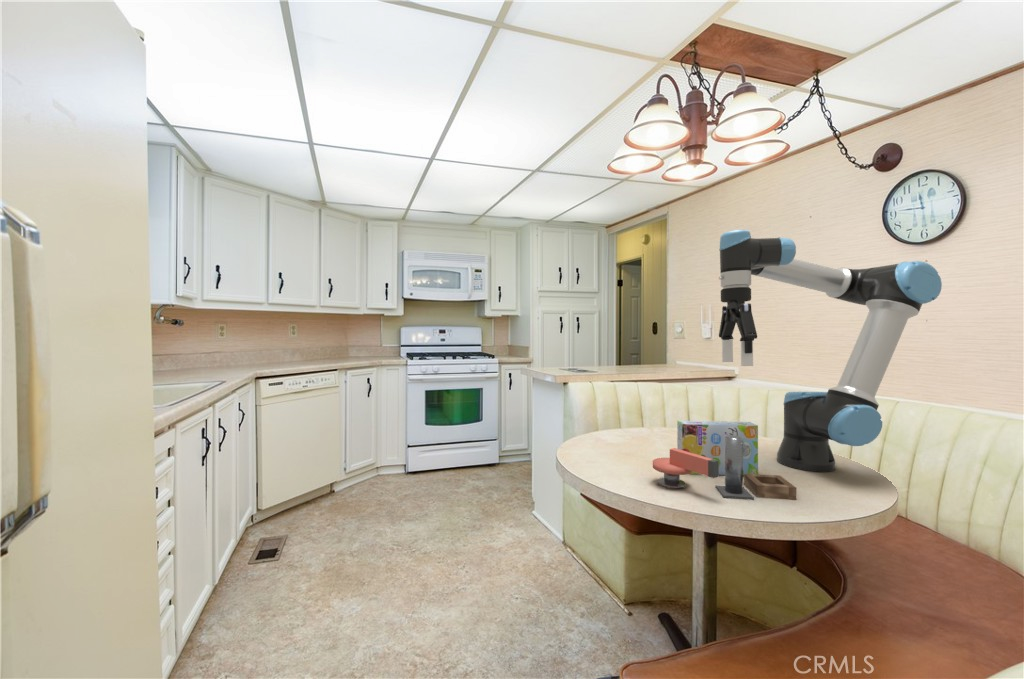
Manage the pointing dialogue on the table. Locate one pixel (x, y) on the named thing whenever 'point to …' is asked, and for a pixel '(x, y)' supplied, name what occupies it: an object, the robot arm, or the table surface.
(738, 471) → the silver metal cylinder
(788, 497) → the block
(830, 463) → the robot arm
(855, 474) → the table surface
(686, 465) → the grey-tipped salmon bar
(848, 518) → the table surface
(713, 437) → the snack box
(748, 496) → the pad
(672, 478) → the wheel post
